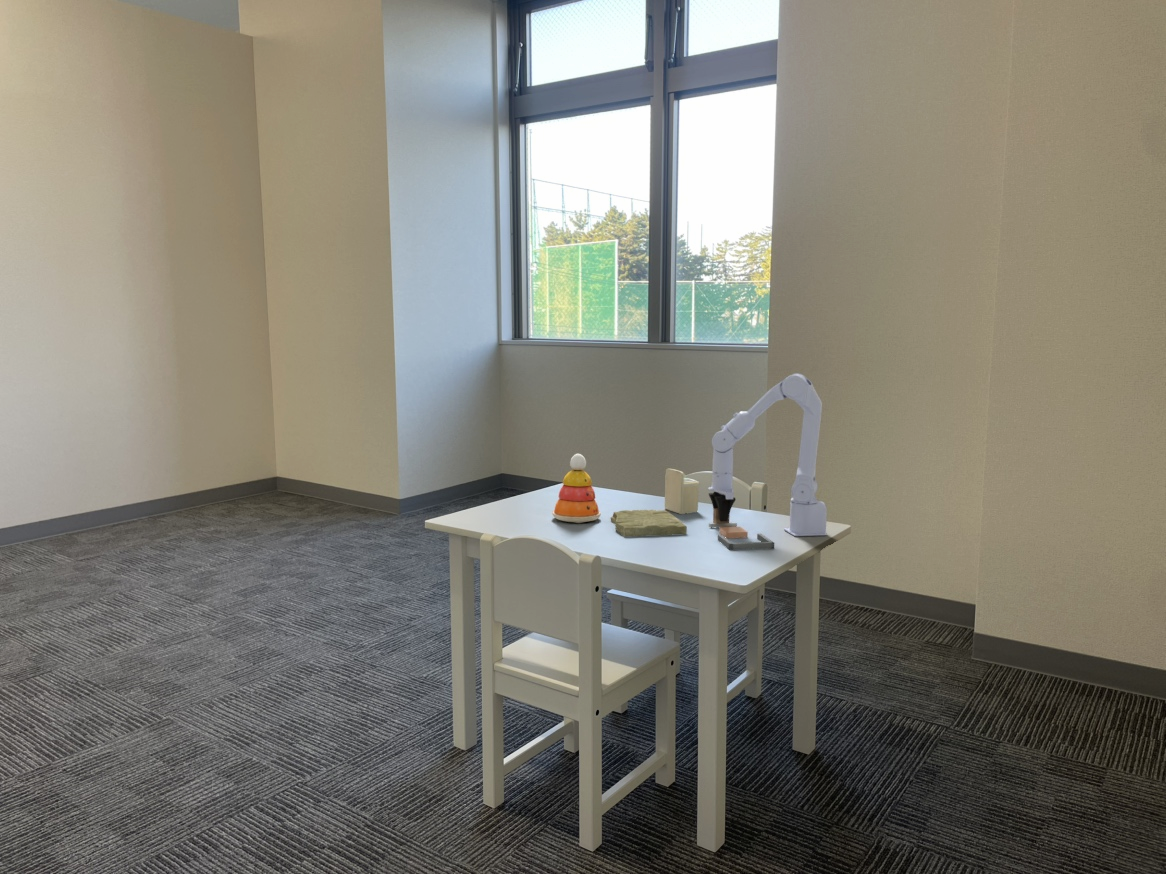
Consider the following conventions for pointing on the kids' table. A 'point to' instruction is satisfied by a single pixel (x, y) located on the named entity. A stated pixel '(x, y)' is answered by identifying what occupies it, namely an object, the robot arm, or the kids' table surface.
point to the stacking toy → (577, 495)
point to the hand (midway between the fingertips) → (721, 519)
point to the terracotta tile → (733, 532)
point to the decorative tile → (647, 523)
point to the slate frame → (763, 544)
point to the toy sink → (680, 492)
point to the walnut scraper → (720, 523)
